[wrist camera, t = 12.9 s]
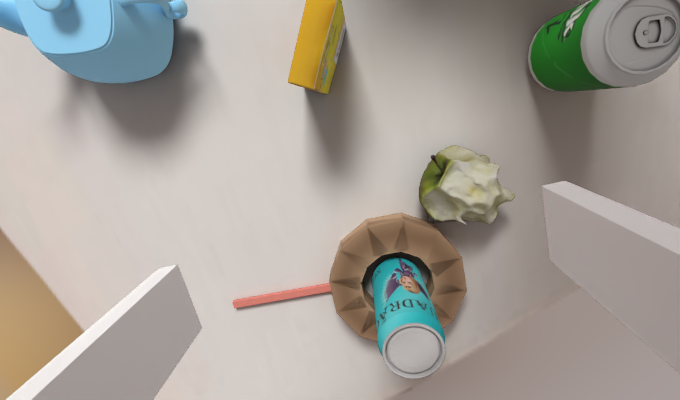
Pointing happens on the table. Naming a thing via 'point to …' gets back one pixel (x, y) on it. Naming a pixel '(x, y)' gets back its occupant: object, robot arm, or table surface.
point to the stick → (282, 295)
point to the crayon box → (318, 45)
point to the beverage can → (406, 320)
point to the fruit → (461, 187)
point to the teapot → (98, 35)
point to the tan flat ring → (386, 239)
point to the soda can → (606, 45)
